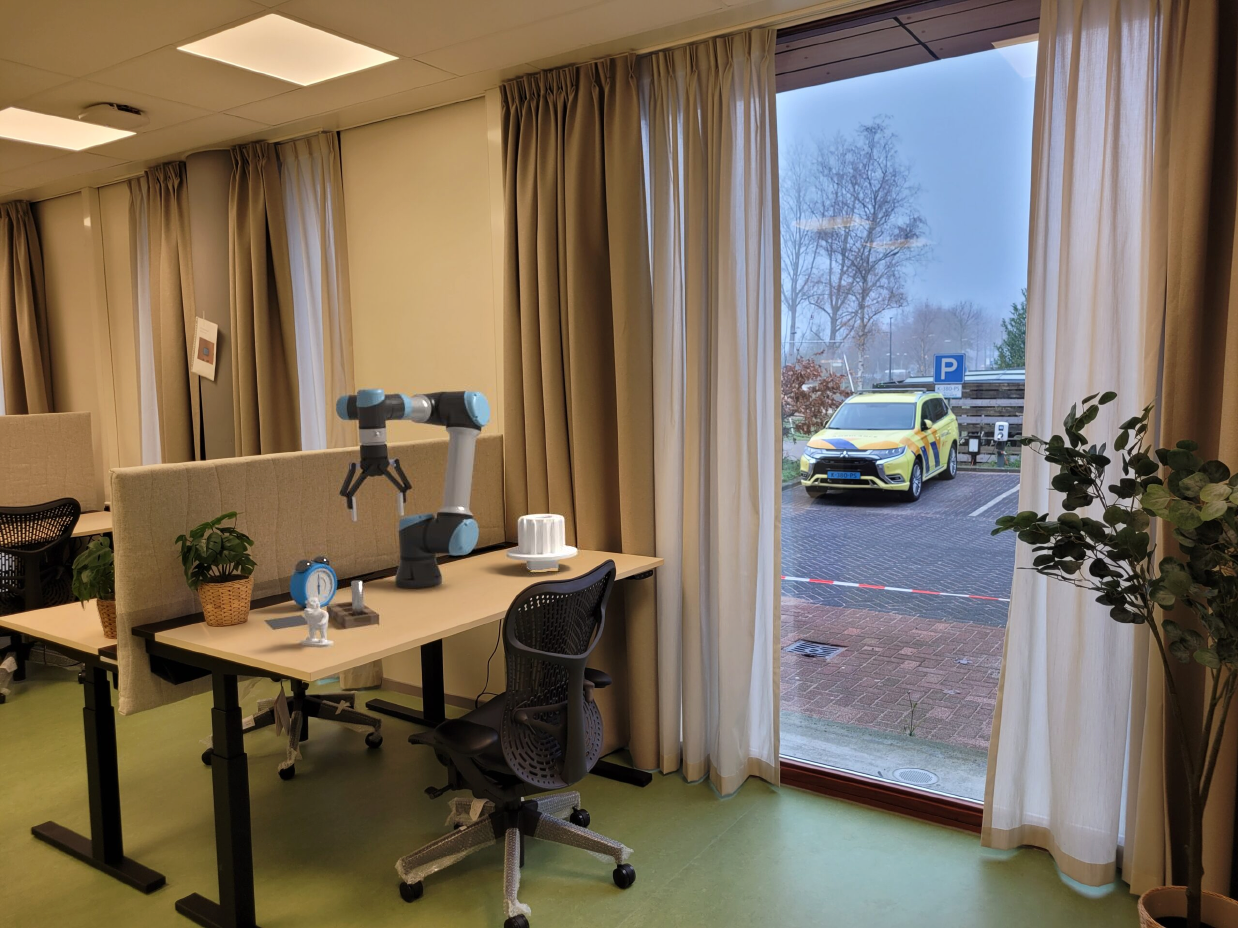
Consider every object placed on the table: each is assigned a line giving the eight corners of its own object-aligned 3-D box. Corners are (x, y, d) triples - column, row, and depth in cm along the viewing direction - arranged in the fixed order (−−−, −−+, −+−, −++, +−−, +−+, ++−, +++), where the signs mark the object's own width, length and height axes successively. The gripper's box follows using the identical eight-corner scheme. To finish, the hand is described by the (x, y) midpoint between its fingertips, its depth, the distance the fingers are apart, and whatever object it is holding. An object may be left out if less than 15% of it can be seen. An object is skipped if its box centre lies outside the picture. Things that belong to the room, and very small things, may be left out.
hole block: (326, 615, 260) (326, 604, 260) (358, 610, 265) (357, 600, 265) (346, 630, 244) (345, 619, 243) (379, 624, 248) (378, 614, 248)
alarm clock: (304, 613, 263) (301, 562, 262) (289, 611, 266) (287, 560, 265) (338, 603, 274) (336, 554, 273) (324, 601, 278) (322, 553, 276)
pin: (351, 624, 250) (349, 581, 249) (362, 622, 251) (360, 579, 250) (354, 626, 247) (352, 583, 246) (365, 624, 249) (363, 581, 248)
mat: (264, 621, 254) (264, 620, 254) (301, 616, 260) (301, 614, 260) (273, 630, 244) (273, 629, 244) (311, 625, 249) (311, 623, 249)
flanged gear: (511, 579, 306) (509, 523, 304) (503, 565, 330) (501, 513, 329) (583, 574, 312) (582, 519, 310) (570, 561, 336) (569, 510, 334)
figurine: (292, 646, 229) (290, 599, 228) (310, 639, 235) (308, 593, 234) (320, 649, 226) (318, 602, 225) (338, 642, 232) (336, 596, 231)
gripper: (332, 447, 246) (337, 524, 249) (420, 441, 260) (424, 514, 262) (325, 446, 253) (330, 521, 255) (411, 439, 266) (415, 510, 268)
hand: (377, 517), depth 259 cm, fingers open, 13 cm apart
